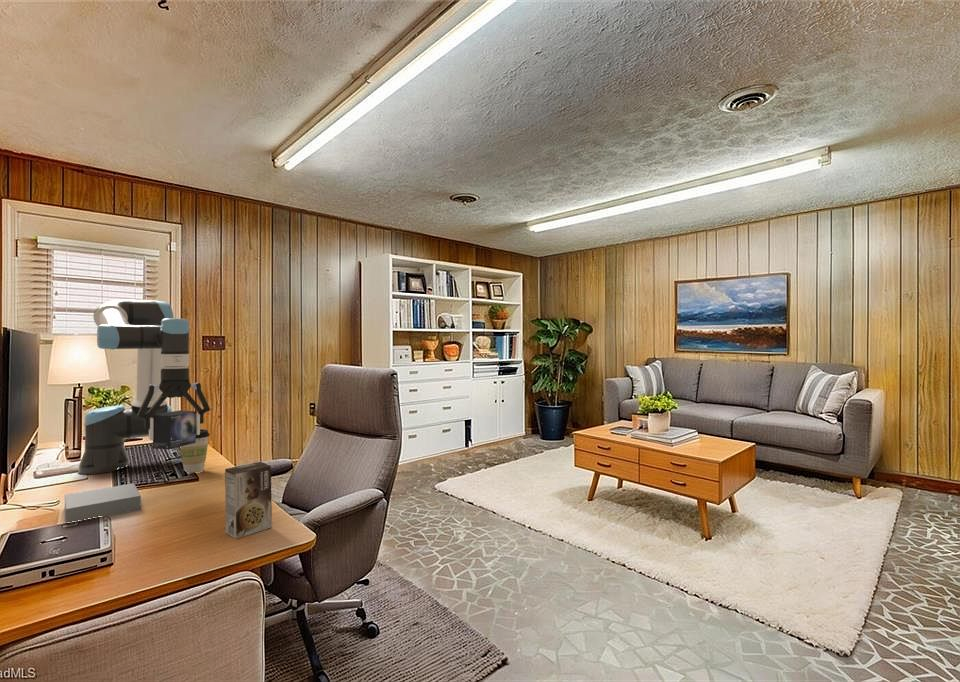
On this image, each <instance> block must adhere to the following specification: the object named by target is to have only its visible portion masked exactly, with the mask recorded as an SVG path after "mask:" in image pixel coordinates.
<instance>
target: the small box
mask: <svg viewBox="0 0 960 682" xmlns="http://www.w3.org/2000/svg"><path fill="white" fill-rule="evenodd" d="M196 414H197V411H196V410H195V411H194V410H183V409H180V410H174V411H172V412H167V413H161V414H155V415H153V440H152V447H151V448H152V449H156V450H173V449H177V448H181V446H185V445H189V444H193V443H196Z"/></svg>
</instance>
